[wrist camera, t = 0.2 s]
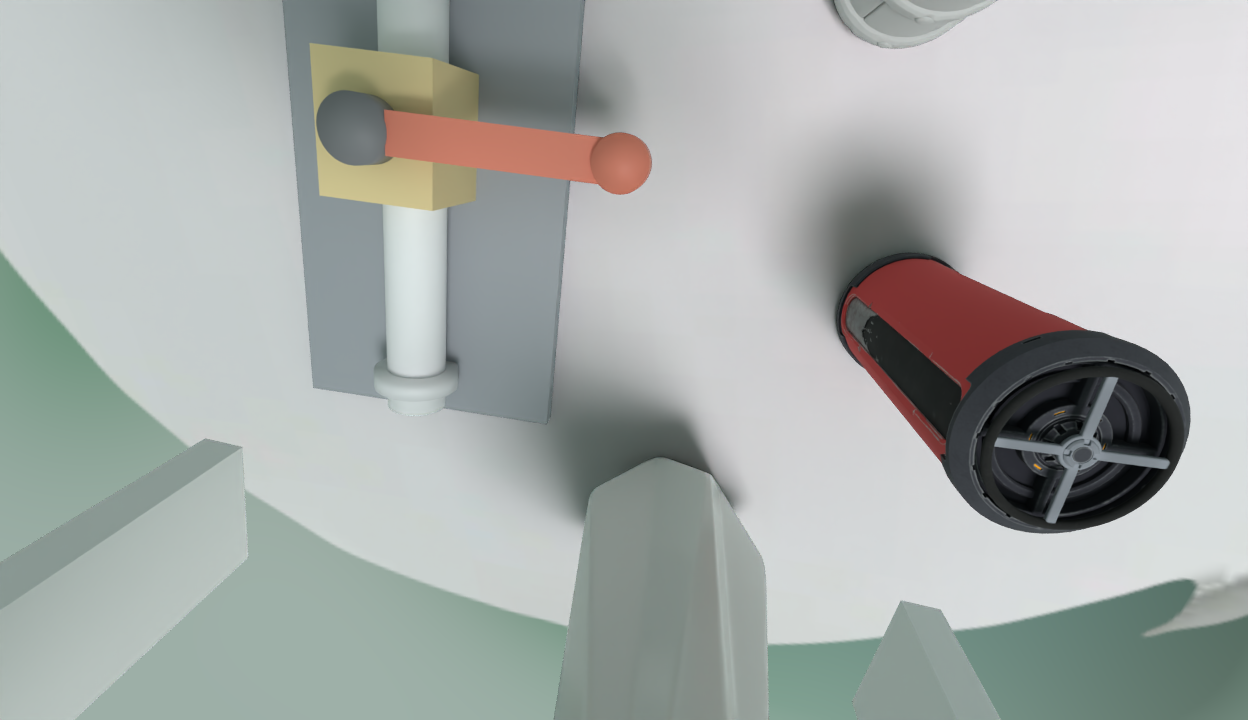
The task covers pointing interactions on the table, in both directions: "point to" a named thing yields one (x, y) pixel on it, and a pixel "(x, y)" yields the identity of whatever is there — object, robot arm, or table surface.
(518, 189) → the grey base plate
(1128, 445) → the speaker
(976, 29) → the table surface
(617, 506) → the vase
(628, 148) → the lever
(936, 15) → the mug
